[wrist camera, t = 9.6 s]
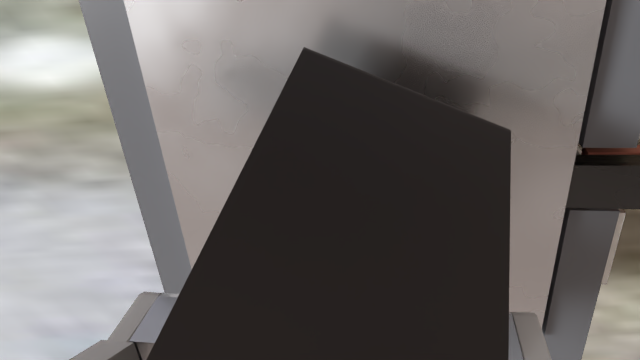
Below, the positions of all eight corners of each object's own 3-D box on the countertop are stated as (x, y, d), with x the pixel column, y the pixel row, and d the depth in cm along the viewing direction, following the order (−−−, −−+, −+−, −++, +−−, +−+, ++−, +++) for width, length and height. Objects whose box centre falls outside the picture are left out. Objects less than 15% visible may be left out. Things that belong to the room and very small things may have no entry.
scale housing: (605, -124, 20) (734, -145, 12) (540, 241, 28) (591, 369, 20) (175, -86, 23) (54, -83, 15) (235, 232, 31) (178, 339, 24)
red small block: (653, 144, 17) (660, 152, 16) (641, 185, 17) (648, 194, 17) (582, 144, 17) (588, 152, 16) (575, 185, 18) (579, 193, 17)
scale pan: (720, -57, 13) (747, -54, 12) (610, 325, 20) (621, 348, 19) (138, -19, 16) (120, -14, 15) (214, 302, 23) (204, 321, 22)
